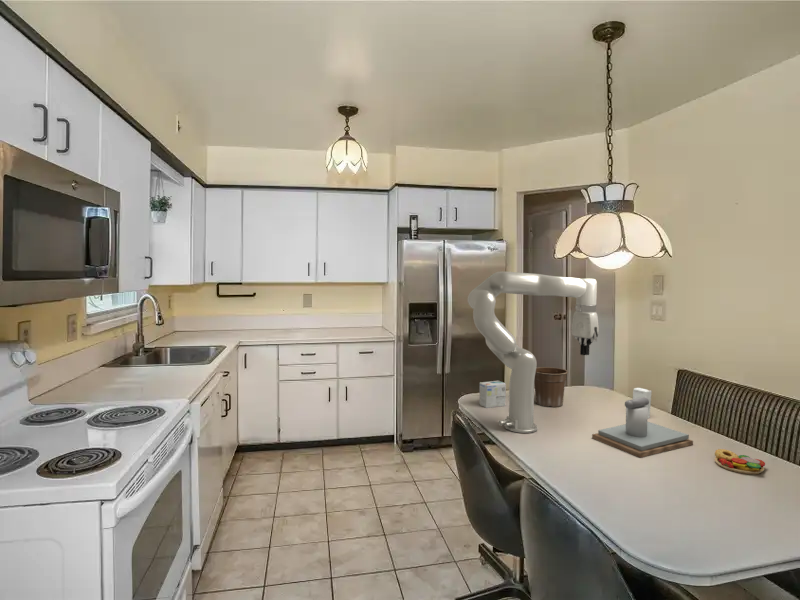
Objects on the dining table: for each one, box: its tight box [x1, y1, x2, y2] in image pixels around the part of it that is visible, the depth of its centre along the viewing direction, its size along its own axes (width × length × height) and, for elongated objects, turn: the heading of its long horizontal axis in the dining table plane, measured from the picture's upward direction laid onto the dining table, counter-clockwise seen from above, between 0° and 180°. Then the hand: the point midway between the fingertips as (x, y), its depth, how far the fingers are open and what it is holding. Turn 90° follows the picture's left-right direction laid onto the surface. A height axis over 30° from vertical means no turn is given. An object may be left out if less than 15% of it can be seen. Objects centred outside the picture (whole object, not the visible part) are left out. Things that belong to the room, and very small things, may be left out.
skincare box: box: [632, 387, 652, 419], centre depth 197 cm, size 6×4×12 cm
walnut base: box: [591, 432, 694, 458], centre depth 169 cm, size 28×20×2 cm
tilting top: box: [597, 397, 690, 451], centre depth 168 cm, size 25×18×14 cm
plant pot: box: [534, 366, 569, 408], centre depth 217 cm, size 16×16×16 cm
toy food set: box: [714, 448, 766, 475], centre depth 147 cm, size 13×13×3 cm
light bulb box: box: [479, 380, 507, 409], centre depth 214 cm, size 11×7×11 cm, turn 111°
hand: (584, 354), depth 184 cm, fingers closed
